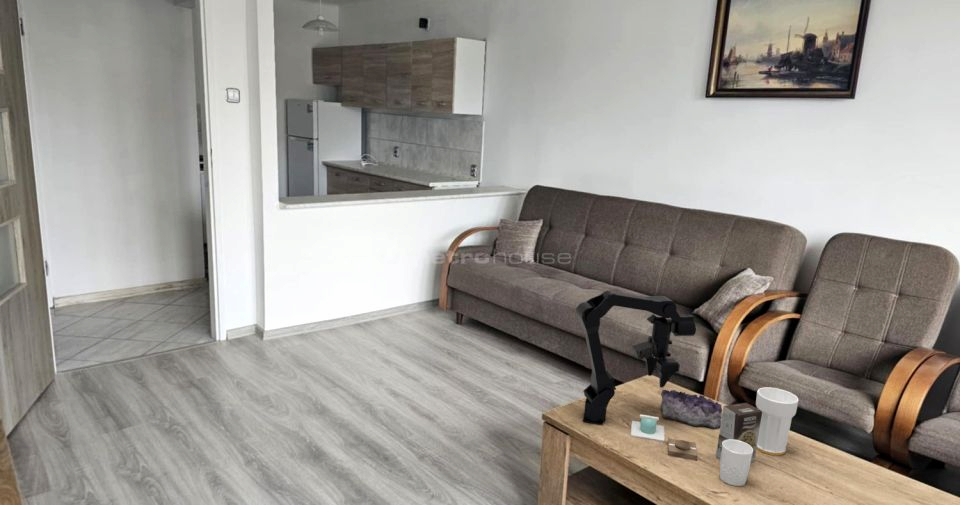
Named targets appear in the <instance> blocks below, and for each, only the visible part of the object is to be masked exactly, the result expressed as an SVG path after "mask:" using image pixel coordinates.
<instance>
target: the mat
mask: <svg viewBox="0 0 960 505" xmlns="http://www.w3.org/2000/svg"><path fill="white" fill-rule="evenodd" d="M640 424H641V421H635V420H631V427H630V428H631V430H630V437H633V438H634V437H635V438H640V439H645V440H650V441H657V442H663V443H665V425H661V424H660V425H659V424H656V432H655V433H654V434H646V433H643V432H642V431H640Z"/></svg>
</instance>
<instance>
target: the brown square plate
mask: <svg viewBox="0 0 960 505" xmlns="http://www.w3.org/2000/svg"><path fill="white" fill-rule="evenodd" d="M697 450H698V449H697V442H695V441H689V440H683V439H677V438H676V439H675V438H670V437H669V438H667V455H668V456H669V457H675V458H681V459H687V460H691V461H698V451H697Z"/></svg>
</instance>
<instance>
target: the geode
mask: <svg viewBox="0 0 960 505" xmlns="http://www.w3.org/2000/svg"><path fill="white" fill-rule="evenodd" d="M660 396H661V404H660V405H659V406H660V408H661V411H662V417H663V418H667V419H672V420H677V421H679V422H681V423H684V424H688V425H689V426H691V427H699V426H703V427H704V426H705V427H708V428H710V429H712V430H717V429H720V426H721V420H722V413H723V406H722V404H721V403H719V402H718V401H716V402H714V400H712V399H711V398H706V397H705V396H704V395H702V394H699V396H698V394H689V393H686V391H684V392H683V391H682V390H681V391H677V390H675V389H671V390H667V389H662V391H661V393H660Z"/></svg>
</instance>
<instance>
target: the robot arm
mask: <svg viewBox="0 0 960 505" xmlns="http://www.w3.org/2000/svg"><path fill="white" fill-rule="evenodd" d="M614 307H620V308H627V309H632V310H640V311H644V312H645V311H646V312H648V313H651V315H650V316H648V317H647V318H646V320H647V321H648V322H649V323H650V324H652V329H651V330H652V331H651V335H649V336H648V338H647V341H643V342H639V343H637V344H634V345H632V351H633V356H634V357H636V358H637V360H644V361H645V366H646V370H647V371H646V372H647V376H649V377H651V376H653V373H654V371H655V369H656V370H657V371H658V373H659V374H658V375H659V388H661V389H662V388H664V387H665V386H666V384H667V383H668V382H669V380H670V379H671V378H672V376H673V375H674V374H675V373H677V372H680V367H681V365H680V363H679V362H677V360H675V359H674V358H669V357H671V355H672V353H670V352H669V349H670V345H673V340H671V335H672V334H673V336H675V337H695V335H696V332H697V328H696V322H695V317H694V316H693V315H691V314H685V315H682V314H681V315H680V314H679V313H678V310H677V308H678V307H677V304H676V303H675V302H674V301H673V300H671V299H670V298H669V297H667V296H664V295H650V296H641V295H640V296H639V295H635V294H629V293H624V292H623V293H622V292H616V291H612V290H605V291H603V292H602V293H601V294H599V295H597V296H596V295H595V296H593V297H591V298H589V299H588V300H586V301H584V302H581V303H579V304H578V305H577V307H576V308H575V314H576V317H577V320H578V322H579V324H580V326H581V328H582V330H583V332H584V337H585V341H586V345H587V346H586V347H587V351H588V356H589V360H590V361H589V362H590V368H591V375H590V384H589V385H588V386H587V387H586V388H585V389H584V390H582V391H583V395H584V397H585V400H584V411H583V412H584V413H583V418H582V422H583V423H589V424H595V425H602V426H603V425H604V422H606V420H607V419H606V418H607V411H608V407H609V406H608V405H609V403H610V401H611V400H612V399H613V398H614V397H615V394H616V393H615V392H616V390H617V387H616V386H615V378H614V376H613V375H612V374H611V373H610V372H609V371H608V370H606V364H605V357H604V354H603V350H602V349H603V348H602V344H601V339H600V332H599V330H600V325H601V319H602V318H603V317H605V316H606V314H608V312H609V311H610V310H611V309H612V308H614Z"/></svg>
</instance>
